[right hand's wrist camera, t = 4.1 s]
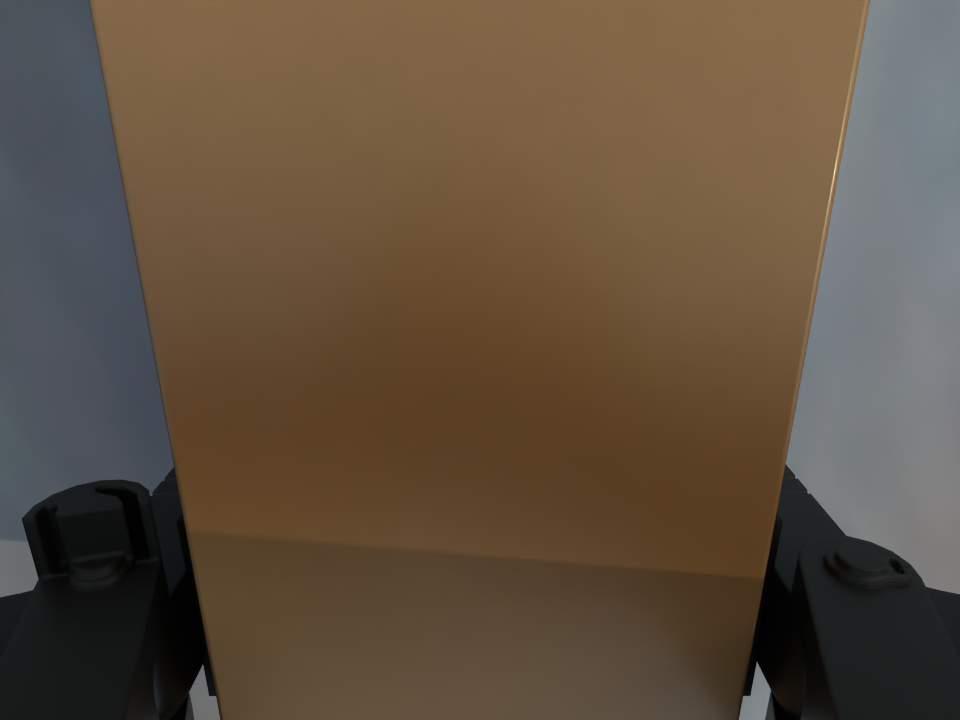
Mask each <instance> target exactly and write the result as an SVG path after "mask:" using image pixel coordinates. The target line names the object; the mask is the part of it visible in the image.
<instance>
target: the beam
mask: <svg viewBox="0 0 960 720" xmlns="http://www.w3.org/2000/svg"><path fill="white" fill-rule="evenodd" d="M89 3H90V9H91V14H92V20H93V25H94V31H95V36H96V42H97V47H98V53H99V58H100V63H101V69H102V74H103V80H104V85H105V91H106V96H107V102H108V107H109V113H110V118H111V124H112V129H113V135H114V140H115V145H116V151H117V156H118V162H119V167H120V173H121V178H122V184H123V189H124V195H125V200H126V206H127V211H128V216H129V222H130V227H131V233H132V238H133V244H134V249H135V255H136V260H137V266H138V271H139V277H140V282H141V288H142V293H143V298H144V304H145V309H146V315H147V320H148V326H149V331H150V337H151V342H152V348H153V353H154V359H155V364H156V369H157V375H158V380H159V386H160V391H161V397H162V402H163V408H164V413H165V419H166V424H167V430H168V435H169V441H170V446H171V451H172V457H173V462H174V468H175V473H176V479H177V484H178V490H179V495H180V501H181V506H182V512H183V517H184V523H185V528H186V533H187V539H188V544H189V550H190V555H191V561H192V566H193V572H194V577H195V583H196V588H197V594H198V599H199V604H200V610H201V615H202V621H203V626H204V632H205V637H206V643H207V648H208V654H209V659H210V665H211V670H212V676H213V681H214V686H215V692H216V697H217V703H218V708H219V714H220V719H221V720H739V715H740V710H741V704H742V699H743V693H744V688H745V682H746V677H747V671H748V666H749V660H750V655H751V649H752V644H753V639H754V633H755V628H756V622H757V617H758V611H759V606H760V600H761V595H762V589H763V584H764V578H765V573H766V567H767V562H768V556H769V551H770V545H771V540H772V534H773V529H774V524H775V518H776V513H777V507H778V502H779V496H780V491H781V485H782V480H783V474H784V469H785V463H786V458H787V452H788V447H789V441H790V436H791V430H792V425H793V419H794V414H795V409H796V403H797V398H798V392H799V387H800V381H801V376H802V370H803V365H804V359H805V354H806V348H807V343H808V337H809V332H810V326H811V321H812V315H813V310H814V304H815V299H816V294H817V288H818V283H819V277H820V272H821V266H822V261H823V255H824V250H825V244H826V239H827V233H828V228H829V222H830V217H831V211H832V206H833V200H834V195H835V190H836V184H837V179H838V173H839V168H840V162H841V157H842V151H843V146H844V140H845V135H846V129H847V124H848V118H849V113H850V107H851V102H852V96H853V91H854V85H855V80H856V75H857V69H858V64H859V58H860V53H861V47H862V42H863V36H864V31H865V25H866V20H867V14H868V9H869V3H870V0H89Z"/></svg>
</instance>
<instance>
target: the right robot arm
mask: <svg viewBox="0 0 960 720" xmlns="http://www.w3.org/2000/svg"><path fill="white" fill-rule="evenodd" d="M22 522H23V525H24V529H25V532H26V536H27V539H28V543H29V546H30V550H31V553H32V557H33V560H34V564H35V567H36V571H37V574H38V578H39V580H38V582H37V584H36V586H35V588H34V590H32V591H28V592H24V593H20V594H15V595H10V596H5V597H0V720H194V716H193V709H192V703H191V698H190V693H189V691H190V689H191V687H192V685H193V683H194V681H195V679H196V677H197V675H198V673H199V671H200V669H201V667H202V665H204V670H205V676H206V681H207V686H208V692H209V696H216V692H215V686H214V681H213V676H212V670H211V665H210V659H209V654H208V648H207V643H206V637H205V632H204V626H203V621H202V615H201V610H200V604H199V599H198V594H197V588H196V583H195V577H194V572H193V566H192V561H191V555H190V550H189V544H188V539H187V533H186V528H185V523H184V517H183V512H182V506H181V501H180V495H179V490H178V484H177V479H176V473H175V468H173V469H172V470H171V471H170V472H169V474H168V475H167V476H166V477H165V481H162V482H161V483H160V484H159V486H158V487H157V488H156V489H155V490H154V491H153V495H152V496H150V495H149V490H148V489H146V488H145V487H144V486H142V485H141V484H139V483H136V482H131V481H126V480H103V481H96V482H91V483H87V484H82V485H77V486H74V487H72V488H69V489H66V490H64V491H61V492H58V493H56V494H53V495H51V496H50V497H48V498H46V499H45V500H43V501H41V502H40V503H38V504H36V505H35V506H33V507H32V509H31V510H30V511H29V512H28V513H27V514H26V515H25V516H24V517H23V518H22ZM757 662H758V664H759V666H760V668H761V670H762V672H763V674H764V676H765V678H766V680H767V682H768V684H769V686H770V688H771V693H770V698H769V703H768V708H767V713H766V718H765V720H960V594H955V593H950V592H945V591H940V590H936V589H932V588H928V587H925V585H924V583H923V581H922V579H921V577H920V576H919V575H918V573H917V572H916V571H915V570H914V568H913V567H912V566H911V565H910V564H909V563H908V562H906V561H905V560H903V559H902V558H901V557H899V556H898V555H896V554H895V553H894V552H892V551H890V550H888V549H885V548H883V547H881V546H878V545H876V544H874V543H872V542H869V541H865V540H861V539H857V538H853V537H849V536H846V535H845V534H844V533H843V531H842V530H841V529H840V528H839V527H838V526H837V524H836V523H835V522H834V521H833V520H832V518H831V517H830V516H829V515H828V514H827V513H826V511H825V510H824V509H823V508H822V507H821V506H820V504H819V503H818V502H817V501H816V500H815V498H814V497H813V496H812V495H811V494H808V493H807V489H806V488H805V487H804V485H803V484H802V483H801V482H800V481H799V480H798V479H795V475H794V474H793V472H792V471H791V470H790V469H789V468H788V467H787V465H786V464H785V469H784V474H783V480H782V485H781V491H780V496H779V502H778V507H777V513H776V518H775V524H774V529H773V534H772V540H771V545H770V551H769V556H768V562H767V567H766V573H765V578H764V584H763V589H762V595H761V600H760V606H759V611H758V617H757V622H756V628H755V633H754V639H753V644H752V649H751V655H750V660H749V666H748V671H747V677H746V682H745V688H744V693H743V696H750V695H751V689H752V684H753V679H754V673H755V668H756V663H757Z"/></svg>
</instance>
